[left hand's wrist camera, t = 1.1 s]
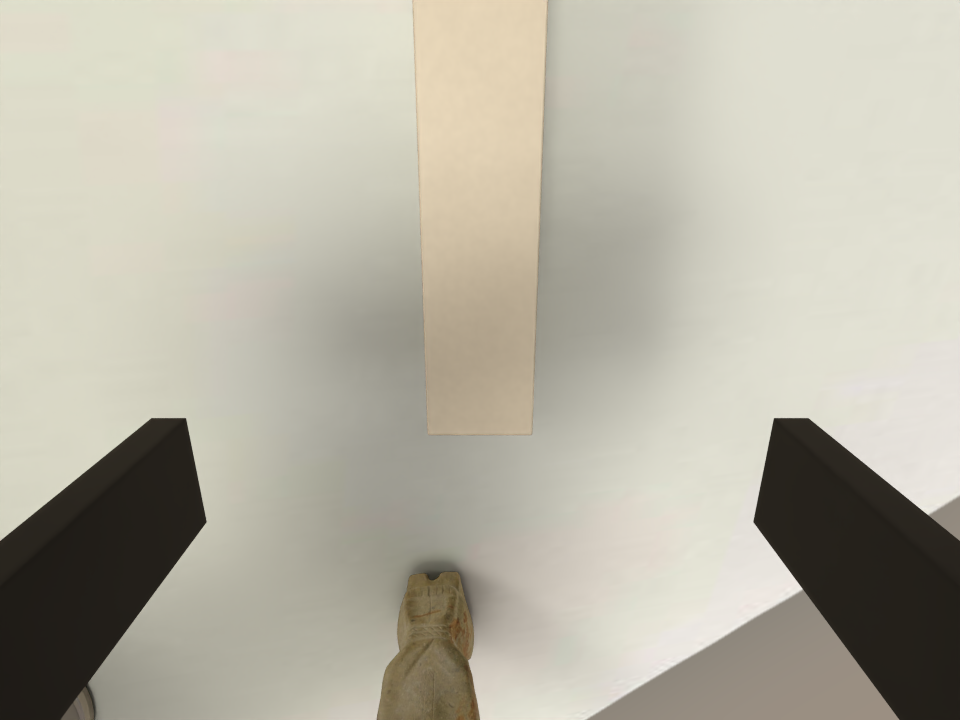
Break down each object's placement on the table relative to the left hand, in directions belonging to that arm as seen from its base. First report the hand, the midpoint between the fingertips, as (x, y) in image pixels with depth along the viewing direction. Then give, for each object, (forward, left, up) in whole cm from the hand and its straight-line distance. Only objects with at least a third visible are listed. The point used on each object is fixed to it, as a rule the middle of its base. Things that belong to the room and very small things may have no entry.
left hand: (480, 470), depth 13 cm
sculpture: (-17, -15, -21) cm, 31 cm away
